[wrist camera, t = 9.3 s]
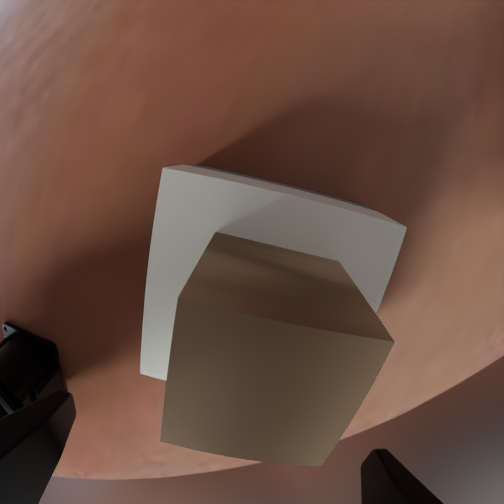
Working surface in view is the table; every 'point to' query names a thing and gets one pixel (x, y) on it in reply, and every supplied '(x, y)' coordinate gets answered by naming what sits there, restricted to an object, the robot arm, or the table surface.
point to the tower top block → (257, 229)
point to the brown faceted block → (269, 354)
